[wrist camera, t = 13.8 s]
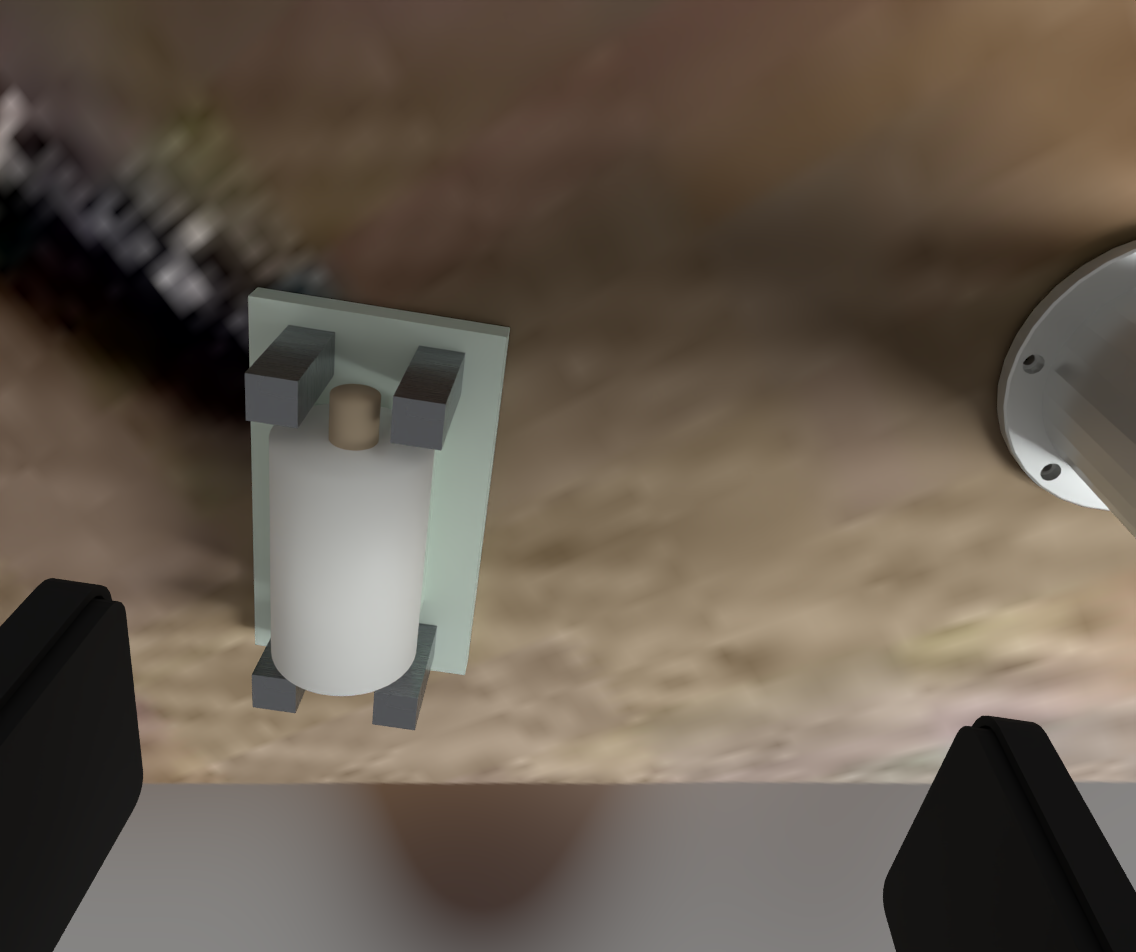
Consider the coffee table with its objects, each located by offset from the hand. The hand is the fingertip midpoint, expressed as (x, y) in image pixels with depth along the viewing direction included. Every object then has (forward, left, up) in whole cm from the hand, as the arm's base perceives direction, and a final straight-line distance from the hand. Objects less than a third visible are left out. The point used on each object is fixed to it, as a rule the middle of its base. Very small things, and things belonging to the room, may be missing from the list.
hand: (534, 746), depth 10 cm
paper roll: (+8, +16, -29) cm, 34 cm away
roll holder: (+8, +16, -30) cm, 35 cm away
